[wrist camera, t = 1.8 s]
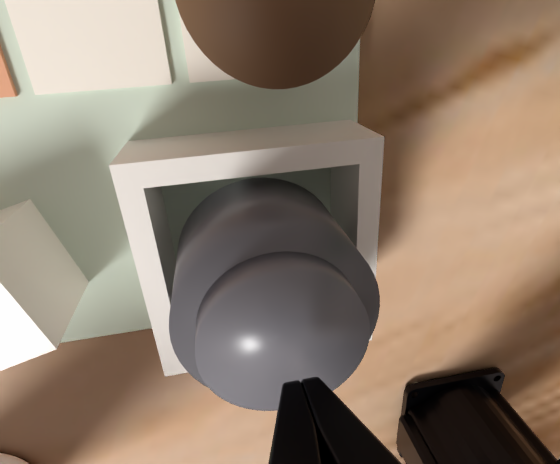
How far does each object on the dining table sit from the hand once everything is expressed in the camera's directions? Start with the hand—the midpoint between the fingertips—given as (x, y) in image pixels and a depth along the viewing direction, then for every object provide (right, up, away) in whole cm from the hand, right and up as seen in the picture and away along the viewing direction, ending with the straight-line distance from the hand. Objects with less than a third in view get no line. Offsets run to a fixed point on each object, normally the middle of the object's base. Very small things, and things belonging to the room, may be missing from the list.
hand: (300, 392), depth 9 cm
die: (-11, +3, +6) cm, 13 cm away
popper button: (-1, +3, +6) cm, 6 cm away
